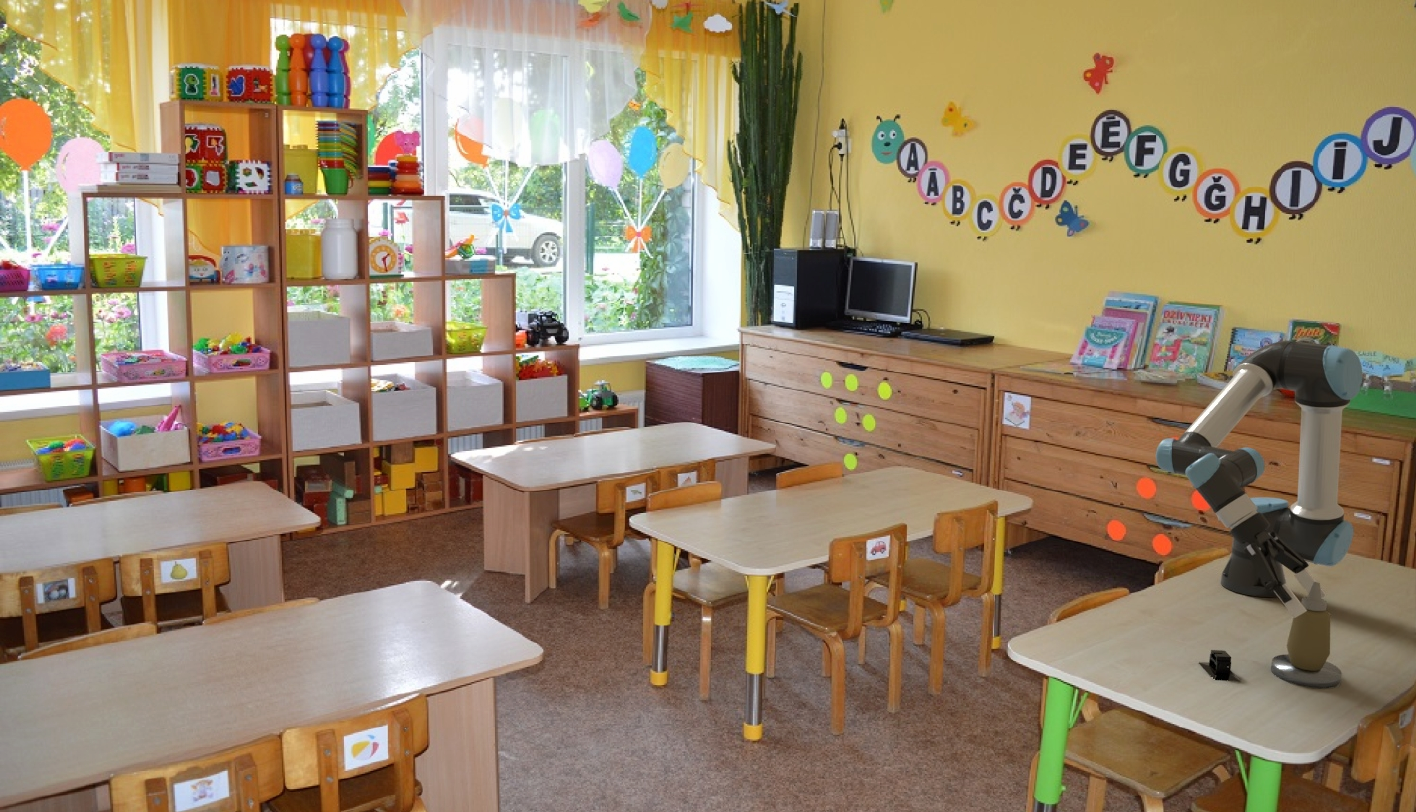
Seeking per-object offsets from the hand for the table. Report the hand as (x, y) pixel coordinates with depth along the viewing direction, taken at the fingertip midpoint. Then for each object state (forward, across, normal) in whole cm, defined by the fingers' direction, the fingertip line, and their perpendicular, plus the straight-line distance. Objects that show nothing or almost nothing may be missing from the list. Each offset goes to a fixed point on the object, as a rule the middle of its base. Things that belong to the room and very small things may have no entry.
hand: (1311, 606), depth 248 cm
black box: (+2, +11, -20) cm, 23 cm away
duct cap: (+11, 0, -10) cm, 15 cm away
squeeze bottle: (+10, 0, -9) cm, 13 cm away
